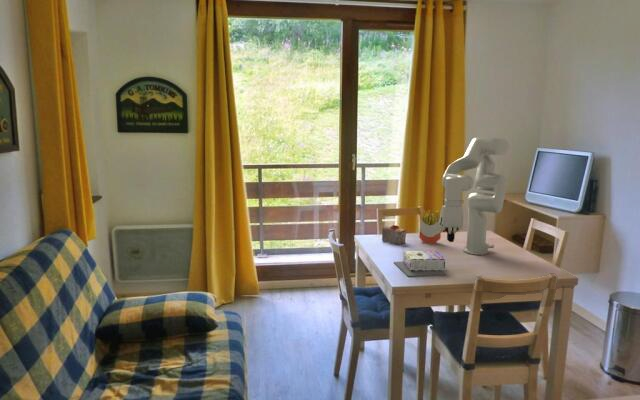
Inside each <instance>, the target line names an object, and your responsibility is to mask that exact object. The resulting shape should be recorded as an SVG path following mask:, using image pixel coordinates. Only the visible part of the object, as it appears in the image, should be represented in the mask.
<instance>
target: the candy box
mask: <svg viewBox="0 0 640 400" xmlns="http://www.w3.org/2000/svg"><path fill="white" fill-rule="evenodd" d="M402 253H403V256H402V258H403V259H402V262H404V263H405V265H406V266H407V267H408V269H409V270H410V271H443V272H445V268H446V258H444V257H443V256H442V255H441V253H439V252H438V251H437V250H403V252H402Z"/></svg>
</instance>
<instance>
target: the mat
mask: <svg viewBox="0 0 640 400" xmlns="http://www.w3.org/2000/svg"><path fill="white" fill-rule="evenodd" d="M393 264H394V265H395V266H396V267H397V268H398V269H399V270H400V271H401V272H402V273H403V274H404V275H405V276H406V277H408V278H413V277H430V276H433V277H434V276H445V275H447V273H446V272H445V271H410V270H409V269H408V267H407V266H406V265H405V263H404V262H403V261H393Z"/></svg>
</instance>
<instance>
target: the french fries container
mask: <svg viewBox="0 0 640 400" xmlns="http://www.w3.org/2000/svg"><path fill="white" fill-rule="evenodd" d="M439 214H440V213H439V211H438V210H437V211H435V210H433V211H432V213H431V210H429V209H428V210H427V211H426V210H422V215H421V216H420V225H419V235H418V236H419V239H420V240H421V241H422V243H426V244H430V245H431V244H432V245H434V244H436V243H437V242H438V241H439V240H441V238H442V237H441V232H442V230H441V229H440V226H441V225H440V224H439V221H440V215H439Z"/></svg>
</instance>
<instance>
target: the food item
mask: <svg viewBox="0 0 640 400" xmlns="http://www.w3.org/2000/svg"><path fill="white" fill-rule="evenodd" d="M381 231H382V232H381V233H382V235H381V240H382V242H387V243H389V244H395V245H403V244H405V243H406V236H407V229H403V228H400V226H398V225H391V226H390V225H385V226H383V227H382V229H381Z"/></svg>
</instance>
